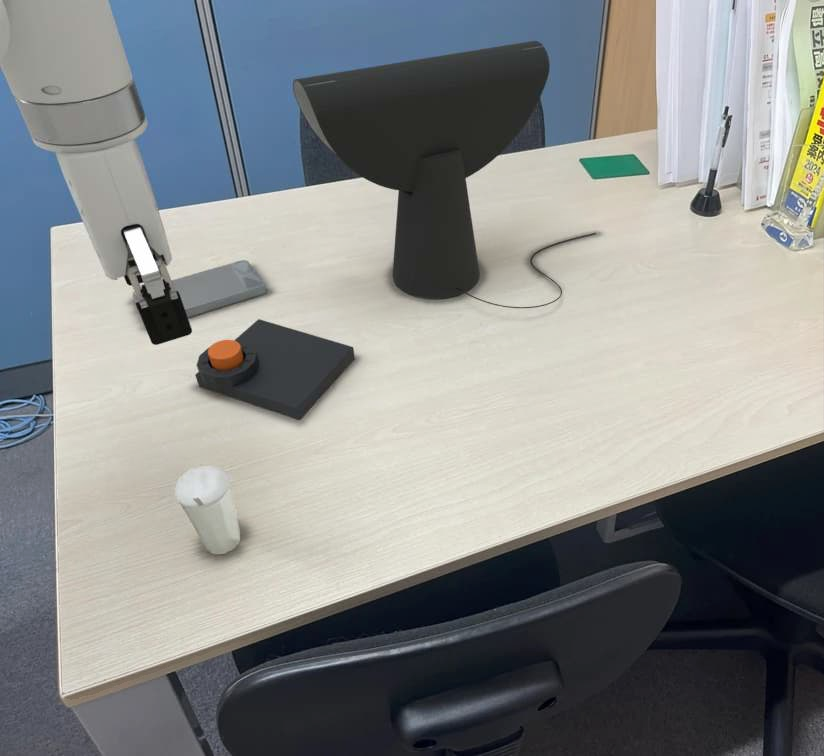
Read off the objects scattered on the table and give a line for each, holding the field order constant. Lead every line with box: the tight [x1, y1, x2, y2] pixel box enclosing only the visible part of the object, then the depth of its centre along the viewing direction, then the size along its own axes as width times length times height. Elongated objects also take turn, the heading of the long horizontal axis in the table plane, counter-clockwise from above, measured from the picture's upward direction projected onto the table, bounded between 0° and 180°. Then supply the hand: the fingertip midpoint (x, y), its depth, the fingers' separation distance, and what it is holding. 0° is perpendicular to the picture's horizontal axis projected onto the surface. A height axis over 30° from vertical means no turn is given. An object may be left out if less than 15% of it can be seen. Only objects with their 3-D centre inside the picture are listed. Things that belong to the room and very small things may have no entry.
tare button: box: [207, 339, 244, 370], centre depth 82 cm, size 4×4×2 cm
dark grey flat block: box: [194, 318, 356, 421], centre depth 85 cm, size 14×13×4 cm
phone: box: [132, 259, 268, 319], centre depth 97 cm, size 8×16×1 cm, turn 125°
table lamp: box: [292, 40, 596, 309], centre depth 95 cm, size 40×28×30 cm
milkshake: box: [174, 464, 241, 555], centre depth 64 cm, size 4×5×10 cm
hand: (158, 307), depth 61 cm, fingers open, 9 cm apart
